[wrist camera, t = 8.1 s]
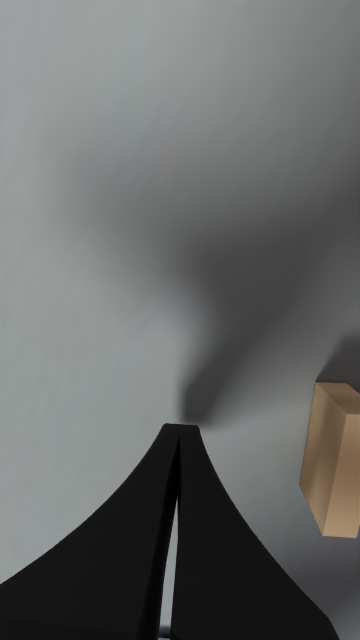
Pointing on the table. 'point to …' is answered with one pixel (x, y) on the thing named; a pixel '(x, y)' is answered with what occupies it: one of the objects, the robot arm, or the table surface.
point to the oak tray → (333, 460)
